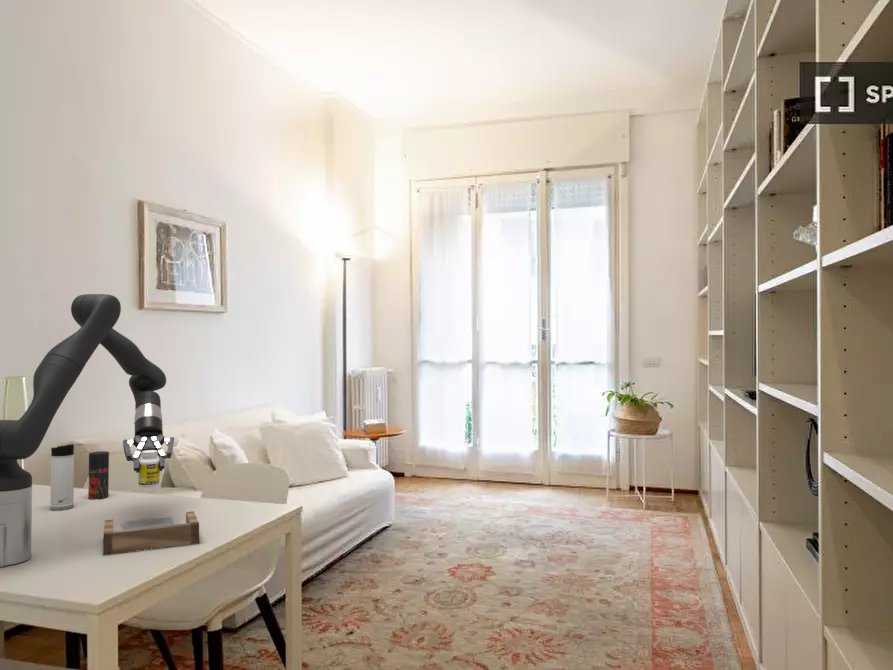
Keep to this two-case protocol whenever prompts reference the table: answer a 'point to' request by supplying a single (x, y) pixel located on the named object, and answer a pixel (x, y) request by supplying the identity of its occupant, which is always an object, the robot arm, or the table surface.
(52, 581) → the table surface
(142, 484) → the supplement bottle
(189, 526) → the walnut bay
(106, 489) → the deodorant
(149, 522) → the slate pad
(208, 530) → the table surface
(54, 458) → the travel mug
